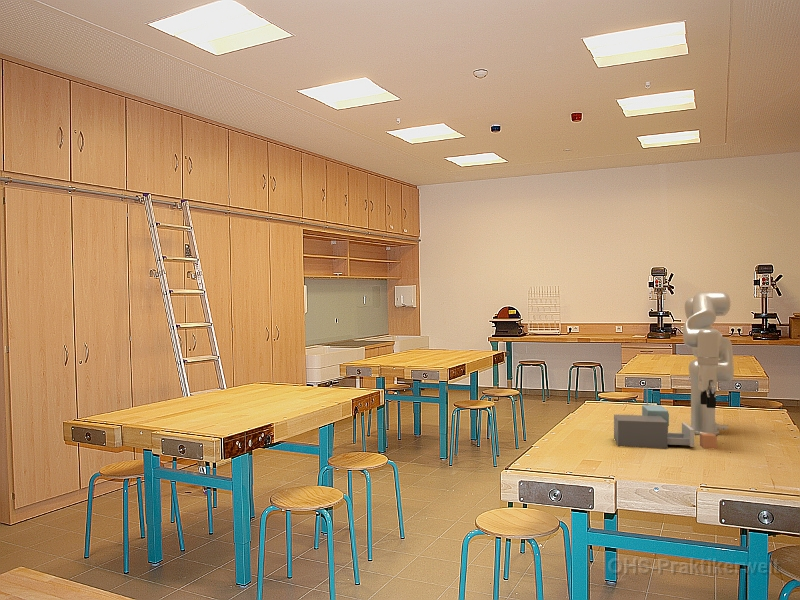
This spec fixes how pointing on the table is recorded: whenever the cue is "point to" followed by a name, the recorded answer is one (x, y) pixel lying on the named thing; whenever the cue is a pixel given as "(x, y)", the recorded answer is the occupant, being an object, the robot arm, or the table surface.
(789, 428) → the table surface
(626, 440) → the housing
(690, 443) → the light grey drawer
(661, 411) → the radio
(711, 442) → the block
